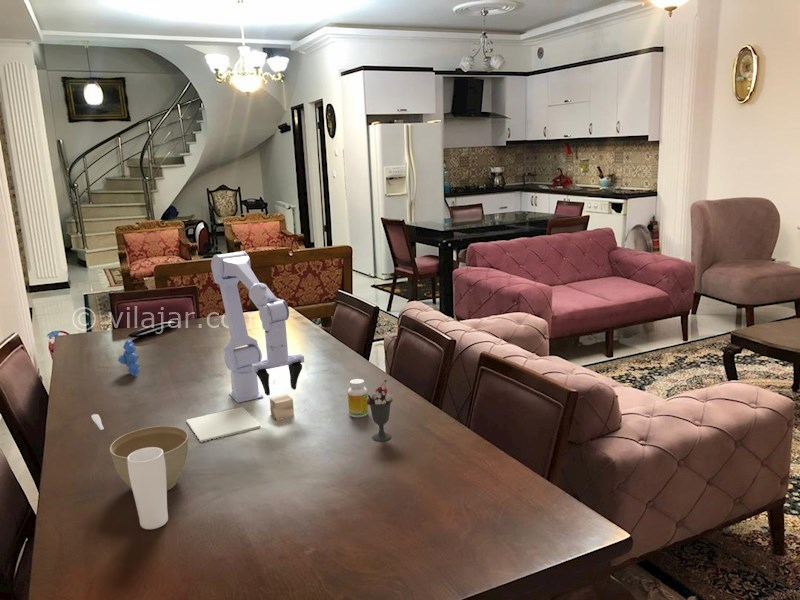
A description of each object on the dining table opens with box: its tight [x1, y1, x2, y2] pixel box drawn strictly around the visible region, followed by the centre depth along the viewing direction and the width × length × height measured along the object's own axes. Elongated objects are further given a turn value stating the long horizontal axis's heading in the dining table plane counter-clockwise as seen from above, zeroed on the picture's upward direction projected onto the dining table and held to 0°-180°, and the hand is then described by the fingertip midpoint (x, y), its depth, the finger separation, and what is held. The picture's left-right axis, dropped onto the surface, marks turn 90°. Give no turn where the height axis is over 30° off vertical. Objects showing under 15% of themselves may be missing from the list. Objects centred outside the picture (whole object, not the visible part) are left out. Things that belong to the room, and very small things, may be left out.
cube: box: [269, 393, 295, 421], centre depth 180 cm, size 5×5×5 cm
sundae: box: [367, 379, 394, 442], centre depth 162 cm, size 7×7×15 cm
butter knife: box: [90, 413, 105, 431], centre depth 175 cm, size 1×27×3 cm
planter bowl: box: [109, 425, 189, 492], centre depth 142 cm, size 16×16×11 cm
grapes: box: [117, 339, 140, 377], centre depth 218 cm, size 12×7×12 cm, turn 33°
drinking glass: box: [127, 447, 169, 530], centre depth 127 cm, size 7×7×15 cm
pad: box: [185, 406, 261, 443], centre depth 175 cm, size 16×16×1 cm
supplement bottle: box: [347, 378, 369, 418], centre depth 178 cm, size 5×5×10 cm
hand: (280, 391), depth 179 cm, fingers open, 7 cm apart
